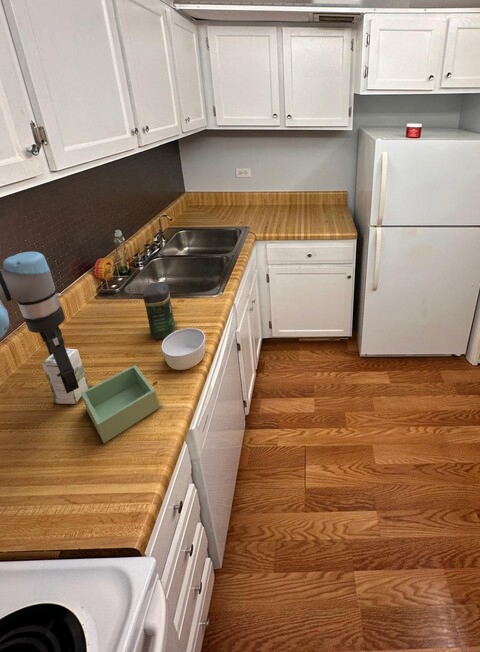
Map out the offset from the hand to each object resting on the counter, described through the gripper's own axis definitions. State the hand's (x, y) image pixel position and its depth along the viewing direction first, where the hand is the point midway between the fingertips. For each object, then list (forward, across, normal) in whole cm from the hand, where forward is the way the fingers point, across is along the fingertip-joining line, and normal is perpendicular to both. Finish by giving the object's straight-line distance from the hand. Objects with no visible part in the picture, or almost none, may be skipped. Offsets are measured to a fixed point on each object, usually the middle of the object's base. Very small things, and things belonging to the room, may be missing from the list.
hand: (66, 376), depth 91 cm
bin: (+7, -15, -8) cm, 19 cm away
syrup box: (+7, 0, 0) cm, 7 cm away
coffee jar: (+7, +9, -30) cm, 32 cm away
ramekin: (+7, -10, -29) cm, 31 cm away
